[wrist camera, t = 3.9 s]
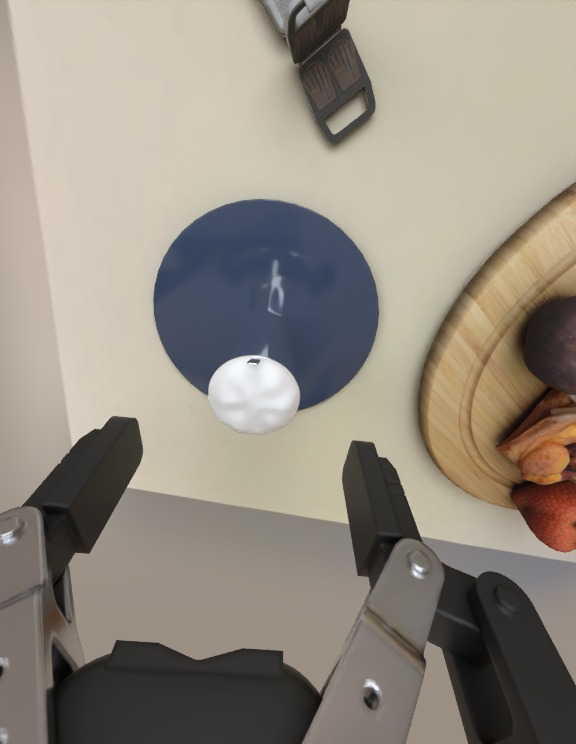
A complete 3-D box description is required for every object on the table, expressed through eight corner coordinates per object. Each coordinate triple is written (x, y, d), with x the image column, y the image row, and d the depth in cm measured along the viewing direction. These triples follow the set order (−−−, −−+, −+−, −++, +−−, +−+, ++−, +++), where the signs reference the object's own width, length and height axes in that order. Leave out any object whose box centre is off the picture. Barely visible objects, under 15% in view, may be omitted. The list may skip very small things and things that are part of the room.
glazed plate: (167, 399, 26) (164, 403, 25) (142, 181, 18) (138, 181, 17) (349, 417, 27) (350, 422, 26) (407, 217, 18) (410, 218, 18)
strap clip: (233, -56, 13) (210, -151, 9) (292, -121, 12) (292, -254, 8) (327, 149, 17) (337, 137, 13) (378, 110, 16) (403, 86, 12)
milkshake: (302, 294, 20) (310, 369, 12) (293, 362, 23) (293, 463, 14) (235, 286, 20) (193, 357, 11) (234, 356, 23) (199, 455, 14)
